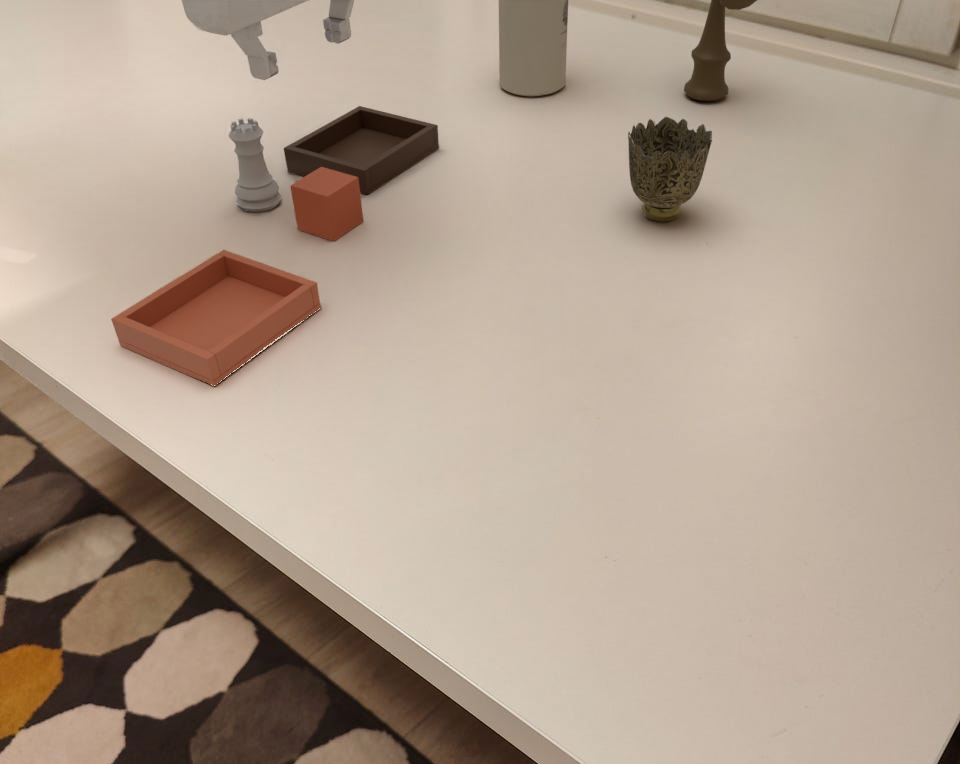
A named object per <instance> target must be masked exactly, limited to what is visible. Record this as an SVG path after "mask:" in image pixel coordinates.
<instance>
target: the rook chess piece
mask: <svg viewBox="0 0 960 764" xmlns="http://www.w3.org/2000/svg"><path fill="white" fill-rule="evenodd" d="M244 121H245V120H244V118H239V119H237V121H235V120H234V121H231V123H230V125H229V126H230V131H229V133H228V138H229V139H230V140H231V141H232V142H233V143H234V145H235V148H234V150H233V152H234V153H235V154H236V157H237V162H238V163H237V164H238V178H237V181H236V183H237V184H236V185H235V188H234V194H235V196H236V201H235V203H236V204H237V206H238V207H240V208H241V210H244V211H246V212H249V213H262V212H263V213H264V212H267V211H270V210H272V209H274V208H276V207H277V206H278V205H279V203H280V202H281V199H282V194H281V192H279V190H280V186H279V184H278V182H277V181H276V179H274V177H273V175H272V174H271V173H270V171H269V170H268V166H267V163H266V160H265V157H264V149H265V146H264V145H263V144H262V143H261V139H262V137H263V134H264V130H263V129H262V128H261V127H260V126H259V122H258V120H256V119H255V120H254V118H250V117H248V118H247V122H244ZM237 122H238V123H237Z"/></svg>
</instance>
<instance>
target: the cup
mask: <svg viewBox="0 0 960 764" xmlns="http://www.w3.org/2000/svg"><path fill="white" fill-rule="evenodd" d="M646 124H647V125H646V126H645V125H644V123H642V122H638V123H637V125H635V124H633V125H632V128H631V132H630V131H628V132H627V134H628V136H627V139H628V168H629V169H628V170H629V180H630V185H631V188H632V191H633V193H634V194H635V196H636V197H637V199H638V200H639V201H640V202H643V203H642V205H641V209H642V212H643V215H644V216H645V217H646V218H647V219H649V220H652V221H653V222H661V223H666V222H670V221H673V220H675V219H677V218H678V217H679V215H680V213H681V212H682V209H683V207H682V205H684V204H686V203H687V202H689V201H690V200H691V199H692V198H693V196H694V195H695V194H696V192H697V191H698V189H699V186H700V185H701V181H702V178H703V175H704V172H705V169H706V164H707V160H708V156H709V152H710V150H711V145H712V142H713V139H712V138H713V131H712V130H707V129H706V126H705V124H704V123H702V124H700V125H699V126H698V127H697V129H696V130H694V128H691V129H689V127H688V120H686V119H685V118H682V119H681V120H679V121H678V122H677V121H676V120H675V119H673V118H671V117H668V116H664V117H663V118H662V119H661V120H660V121H659V122H658V123H656V122H655V120H653V119H652V118H649V119H648V120H647V123H646Z"/></svg>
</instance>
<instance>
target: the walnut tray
mask: <svg viewBox="0 0 960 764" xmlns="http://www.w3.org/2000/svg"><path fill="white" fill-rule="evenodd" d="M439 149H440V143H439V125H438V124H435V123H431V122H427V121H422V120H419V119H416V118H415V119H414V118H411V117H407V116H402V115H398V114H394V113H390V112H385V111H381V110H378V109H373V108H370V107H366V106H362V105H358V106H356V107H355V108H353V109H351V110H350V111H348V112H346V113H344V114H342V115H341V116H339V117H337V118H335V119H333V120H332V121H330V122H328V123H326V124H325V125H322V126H321V127H319V128H317V129H315V130H313V131H312V132H310V133H308V134H306V135H304V136H303V137H301V138H299V139H297V140H295V141H294V142H292V143H290V144H288V145H286V146H285V147H283V153H284V158H285V164H286V169H287V172H288V173H291V174H294V175H297V176H301V177H305V176H307V175H308V174H310V173H312V172H313V171H315V170H317V169H318V168H320V167H324V168H328V169H331V170H335V171H338V172H342V173H345V174H349V175H352V176H356V177H358V178H359V187H360V194H362V195H365V196H368V195H370V194H372V193H373V192H375V191H376V190H378V189H379V188H381V187H382V186H384V185H386V184H387V183H388V182H390V181H392V180H393V179H394V178H396V177H398V176H399V175H401V174H402V173H404V172H405V171H408V169H410V168H412V167H413V166H415V165H416V164H418V163H419V162H420V161H422V160H424V159H425V158H427V157H428V156H430V155H431V154H433V153H435V152H436V151H437V150H439Z"/></svg>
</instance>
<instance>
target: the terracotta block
mask: <svg viewBox="0 0 960 764" xmlns="http://www.w3.org/2000/svg"><path fill="white" fill-rule="evenodd" d="M289 186H290V193H291V199H292V205H293V211H294V217H295V221H296V228H297V230H298V231H300V232H304V233H307V234H310V235H314V236H316V237H320V238H322V239H326V240H328V241H332V242H336V241H337V240H339V239H340V238H341V237H343V236H344V235H346V234H347V233H348V232H351V230H353V229H355V228H356V227H357V226H359V225H360V224H362V223H363V222H364V221H365V220H364V213H363V205H362V204H363V203H362V195H361V193H360V187H359V178H358V177H356V176H352V175H349V174H345V173H342V172H338V171H335V170H331V169H328V168H324V167H320V168H318V169H317V170H315V171H313V172H312V173H310V174H308V175H307V176H305V177H304V176H302V178H300V179H298V180H297V181H296V180H295V182H293V183H291V184H290V185H289Z"/></svg>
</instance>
